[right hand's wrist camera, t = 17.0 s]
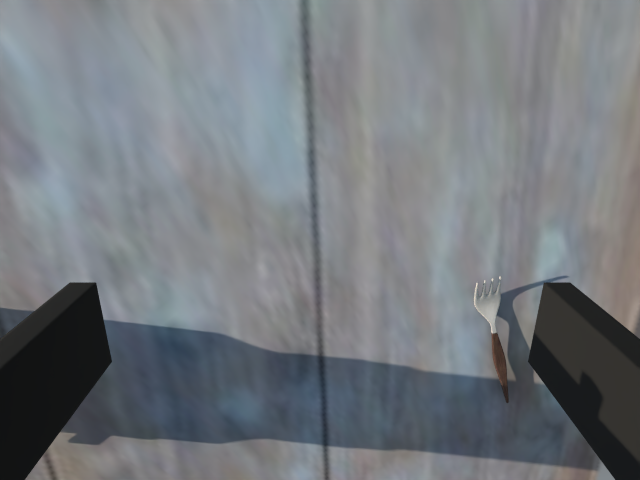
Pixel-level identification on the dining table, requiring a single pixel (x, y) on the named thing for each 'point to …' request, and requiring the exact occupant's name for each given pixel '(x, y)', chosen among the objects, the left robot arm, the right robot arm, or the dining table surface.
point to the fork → (493, 328)
